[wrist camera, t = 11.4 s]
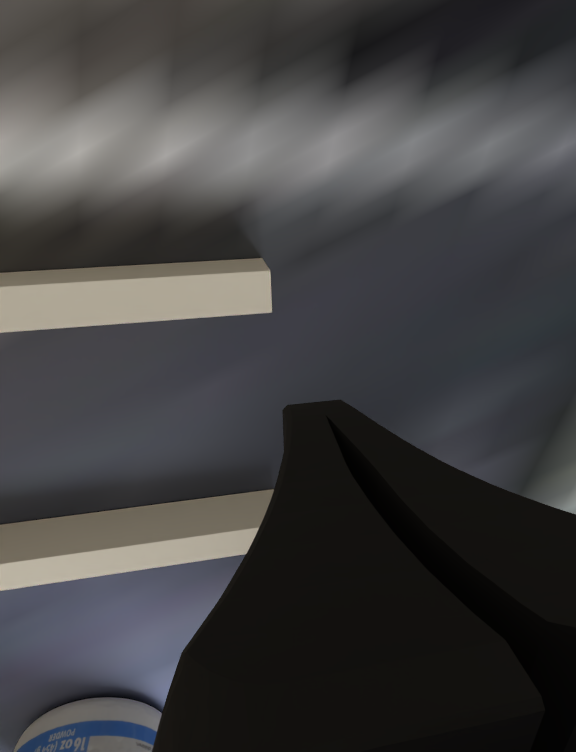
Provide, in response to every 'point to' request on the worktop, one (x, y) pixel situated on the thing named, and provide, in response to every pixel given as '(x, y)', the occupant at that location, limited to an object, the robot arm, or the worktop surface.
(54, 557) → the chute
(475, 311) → the worktop surface
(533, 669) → the robot arm
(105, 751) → the supplement tub
